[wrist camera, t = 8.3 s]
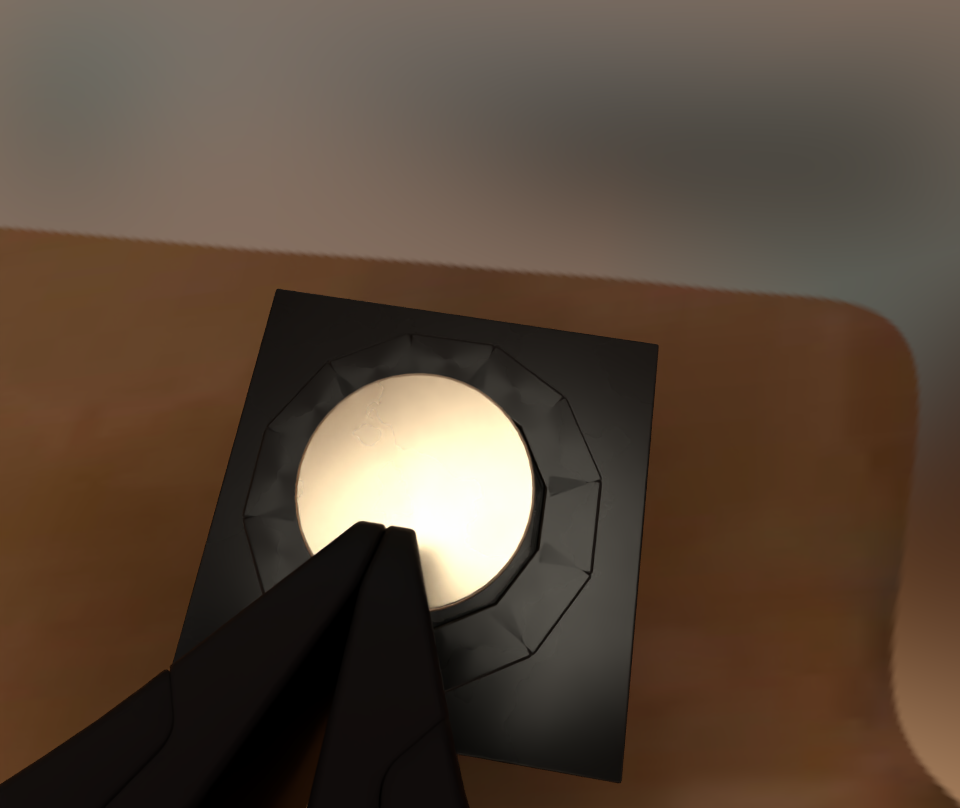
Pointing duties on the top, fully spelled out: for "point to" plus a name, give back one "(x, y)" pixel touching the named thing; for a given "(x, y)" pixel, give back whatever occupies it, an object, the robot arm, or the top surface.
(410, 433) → the knob
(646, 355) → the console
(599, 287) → the top surface
